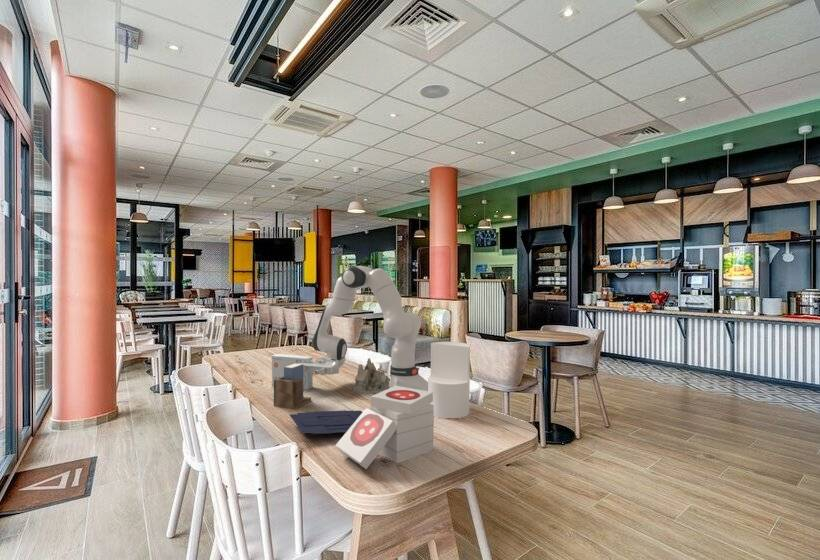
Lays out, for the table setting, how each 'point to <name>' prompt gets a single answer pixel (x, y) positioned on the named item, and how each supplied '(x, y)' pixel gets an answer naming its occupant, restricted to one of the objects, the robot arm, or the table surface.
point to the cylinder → (450, 379)
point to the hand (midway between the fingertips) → (307, 371)
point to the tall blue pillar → (293, 372)
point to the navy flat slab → (325, 421)
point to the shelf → (289, 393)
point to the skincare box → (285, 360)
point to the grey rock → (370, 379)
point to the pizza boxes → (392, 427)
